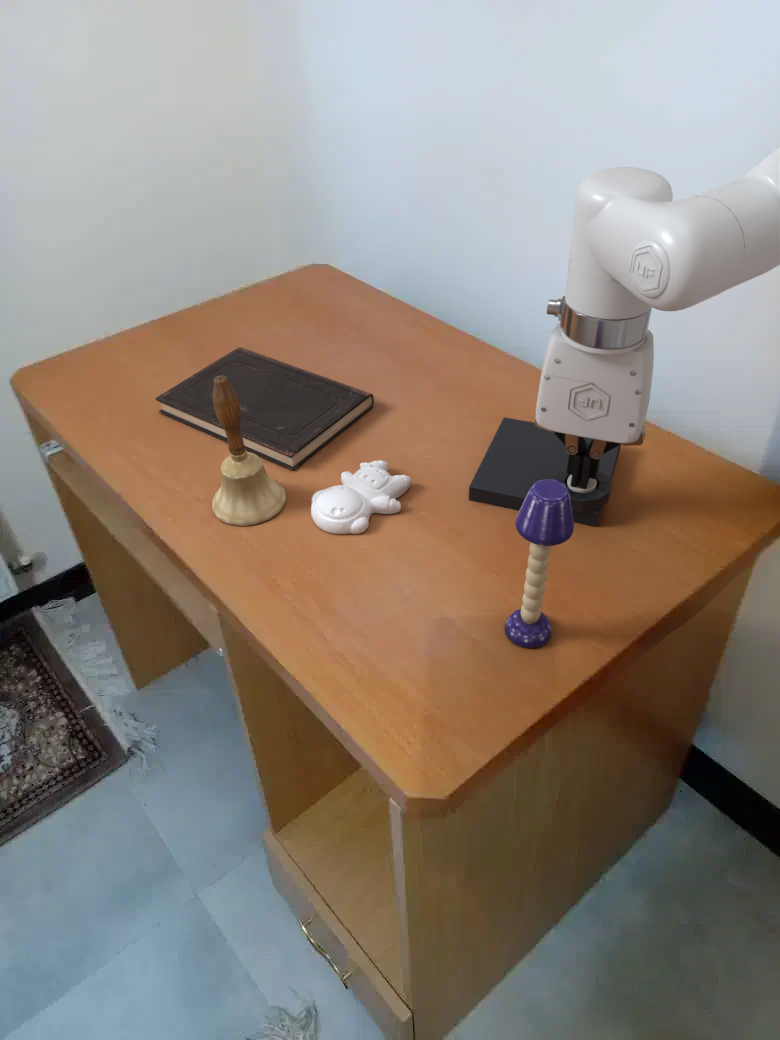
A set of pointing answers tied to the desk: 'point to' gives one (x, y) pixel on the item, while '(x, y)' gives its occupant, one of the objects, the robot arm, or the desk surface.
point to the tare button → (590, 487)
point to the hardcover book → (270, 406)
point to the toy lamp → (539, 557)
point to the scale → (536, 470)
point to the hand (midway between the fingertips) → (581, 479)
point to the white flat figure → (358, 499)
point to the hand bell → (241, 470)
